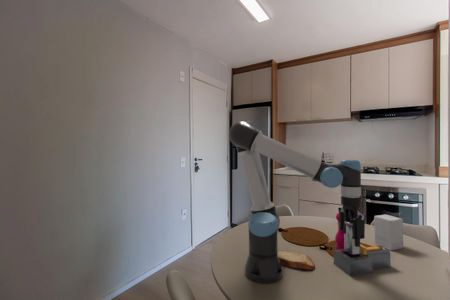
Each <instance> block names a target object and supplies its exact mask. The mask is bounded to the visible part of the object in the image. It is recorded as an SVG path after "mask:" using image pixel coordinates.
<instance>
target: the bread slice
mask: <svg viewBox="0 0 450 300" xmlns="http://www.w3.org/2000/svg"><path fill="white" fill-rule="evenodd" d="M278 258H279V261H280V264H281V266H285V267H288V268H293V269H298V270H306V271H312V270H316V264H315V263H314V261H313V260H312V258H311V257H309V255H307V254H303V253H300V252H295V251H281V250H280V251H278Z"/></svg>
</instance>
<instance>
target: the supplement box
mask: <svg viewBox="0 0 450 300" xmlns="http://www.w3.org/2000/svg"><path fill="white" fill-rule="evenodd" d="M373 219H374V223H373V224H374V244H375V245H376V246H382V247H383V248H384V249H388V250H390V251H395V250H401V249H404V219H403V218H401V217H397V216H393V215H391V214H390V215H389V214H381V215H380V214H378V215H374V217H373Z"/></svg>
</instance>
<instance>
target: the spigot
mask: <svg viewBox="0 0 450 300" xmlns="http://www.w3.org/2000/svg"><path fill="white" fill-rule="evenodd" d="M345 224H346V252H347V253H349V254H352V237H354V236H353V229H352V226H353V224H352V223H351V221H345ZM352 255H356V254H352Z"/></svg>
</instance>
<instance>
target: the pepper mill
mask: <svg viewBox="0 0 450 300" xmlns="http://www.w3.org/2000/svg"><path fill="white" fill-rule="evenodd" d="M335 219H336V220H337V221H336V222H337V224H336V225H337V226H338V230H337V232H336V234H335V237H334V241H335V243H336V244H335V246H336V247H335V248H336V250H338V249H344V233H343V231H342V230H340V220H339V212H338V213H336V215H335Z"/></svg>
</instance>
